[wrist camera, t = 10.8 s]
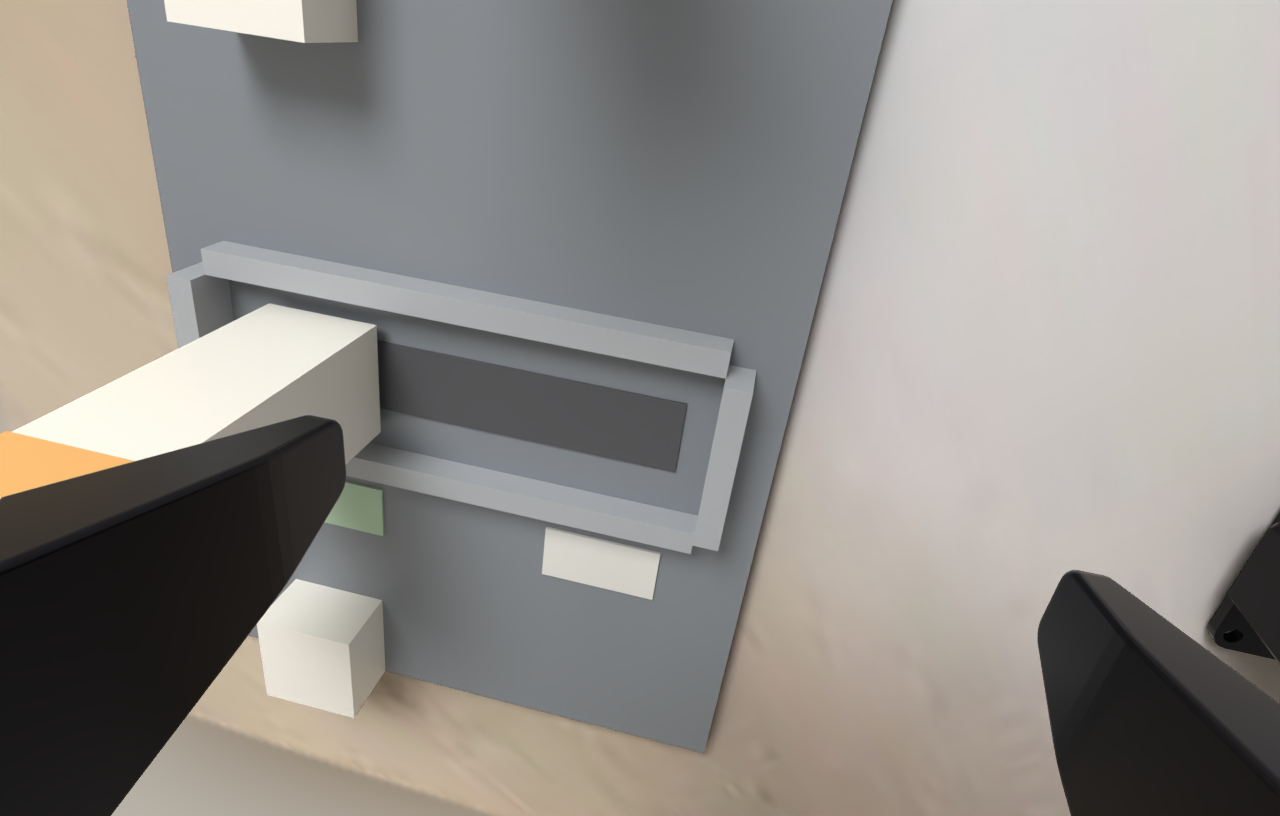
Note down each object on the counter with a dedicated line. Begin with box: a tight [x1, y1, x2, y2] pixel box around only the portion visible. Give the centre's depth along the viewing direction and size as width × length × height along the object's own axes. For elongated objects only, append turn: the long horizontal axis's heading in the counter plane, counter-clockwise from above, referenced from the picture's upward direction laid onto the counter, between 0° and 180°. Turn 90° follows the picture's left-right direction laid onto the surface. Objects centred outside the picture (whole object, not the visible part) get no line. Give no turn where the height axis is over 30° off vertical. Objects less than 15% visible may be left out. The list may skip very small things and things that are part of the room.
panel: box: [127, 0, 893, 753], centre depth 23 cm, size 20×27×3 cm
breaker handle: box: [0, 303, 381, 498], centre depth 19 cm, size 4×4×11 cm
